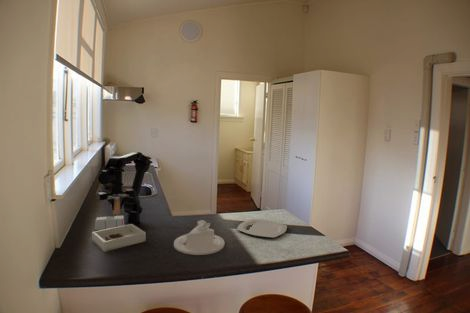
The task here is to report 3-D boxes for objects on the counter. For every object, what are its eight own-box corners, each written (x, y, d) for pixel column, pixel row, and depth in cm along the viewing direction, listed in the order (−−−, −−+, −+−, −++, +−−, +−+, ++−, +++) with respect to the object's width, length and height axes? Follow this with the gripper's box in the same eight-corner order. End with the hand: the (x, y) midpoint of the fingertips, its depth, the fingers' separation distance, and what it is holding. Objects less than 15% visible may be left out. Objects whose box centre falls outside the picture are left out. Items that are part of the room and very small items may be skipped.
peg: (118, 212, 161) (118, 197, 160) (121, 214, 159) (121, 199, 158) (111, 213, 159) (111, 198, 158) (114, 215, 156) (114, 200, 155)
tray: (131, 231, 160) (131, 223, 160) (145, 241, 149) (145, 232, 148) (92, 240, 147) (92, 232, 146) (104, 251, 135) (104, 242, 135)
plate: (230, 232, 165) (230, 229, 165) (250, 219, 189) (250, 216, 189) (276, 243, 153) (276, 239, 153) (292, 228, 177) (292, 224, 177)
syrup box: (95, 230, 160) (124, 228, 165) (95, 220, 159) (124, 218, 164) (96, 227, 165) (124, 225, 170) (96, 216, 165) (124, 215, 170)
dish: (197, 231, 165) (197, 211, 164) (234, 243, 151) (235, 221, 150) (163, 245, 145) (163, 223, 144) (201, 260, 131) (202, 235, 130)
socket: (119, 236, 151) (119, 232, 151) (125, 240, 146) (125, 236, 146) (105, 239, 146) (105, 235, 146) (110, 244, 141) (110, 240, 141)
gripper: (127, 177, 169) (127, 204, 171) (92, 180, 156) (92, 209, 158) (135, 180, 161) (135, 208, 163) (100, 184, 148) (100, 214, 150)
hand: (116, 210), depth 158 cm, fingers closed on peg, 4 cm apart
